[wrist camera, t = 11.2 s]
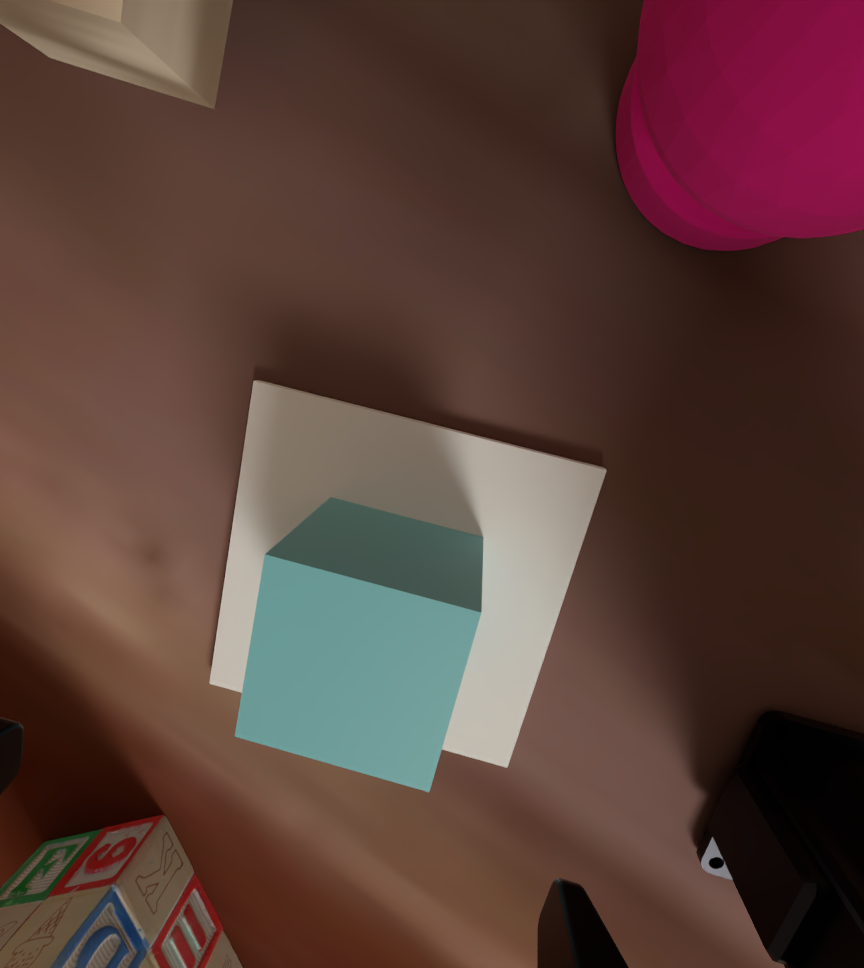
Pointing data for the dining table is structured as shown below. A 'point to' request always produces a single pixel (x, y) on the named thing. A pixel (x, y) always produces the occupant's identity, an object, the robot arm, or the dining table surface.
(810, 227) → the pepper mill
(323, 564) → the teal block
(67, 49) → the birch block
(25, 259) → the dining table surface
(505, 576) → the white mat
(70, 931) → the stack of blocks
